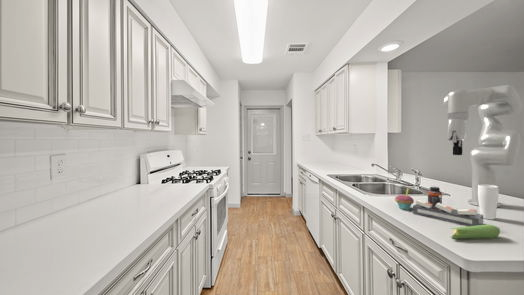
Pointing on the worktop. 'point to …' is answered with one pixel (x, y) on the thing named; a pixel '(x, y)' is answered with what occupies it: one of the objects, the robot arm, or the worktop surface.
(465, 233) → the edible corn
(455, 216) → the rocker switch panel
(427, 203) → the rocker
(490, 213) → the drinking glass
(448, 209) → the plate
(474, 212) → the block
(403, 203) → the cupcake
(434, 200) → the supplement bottle
